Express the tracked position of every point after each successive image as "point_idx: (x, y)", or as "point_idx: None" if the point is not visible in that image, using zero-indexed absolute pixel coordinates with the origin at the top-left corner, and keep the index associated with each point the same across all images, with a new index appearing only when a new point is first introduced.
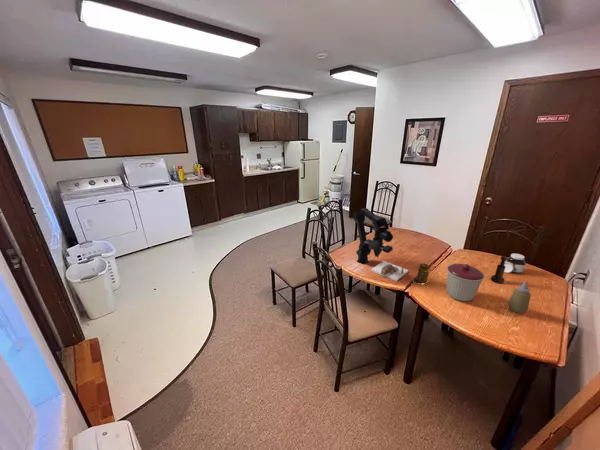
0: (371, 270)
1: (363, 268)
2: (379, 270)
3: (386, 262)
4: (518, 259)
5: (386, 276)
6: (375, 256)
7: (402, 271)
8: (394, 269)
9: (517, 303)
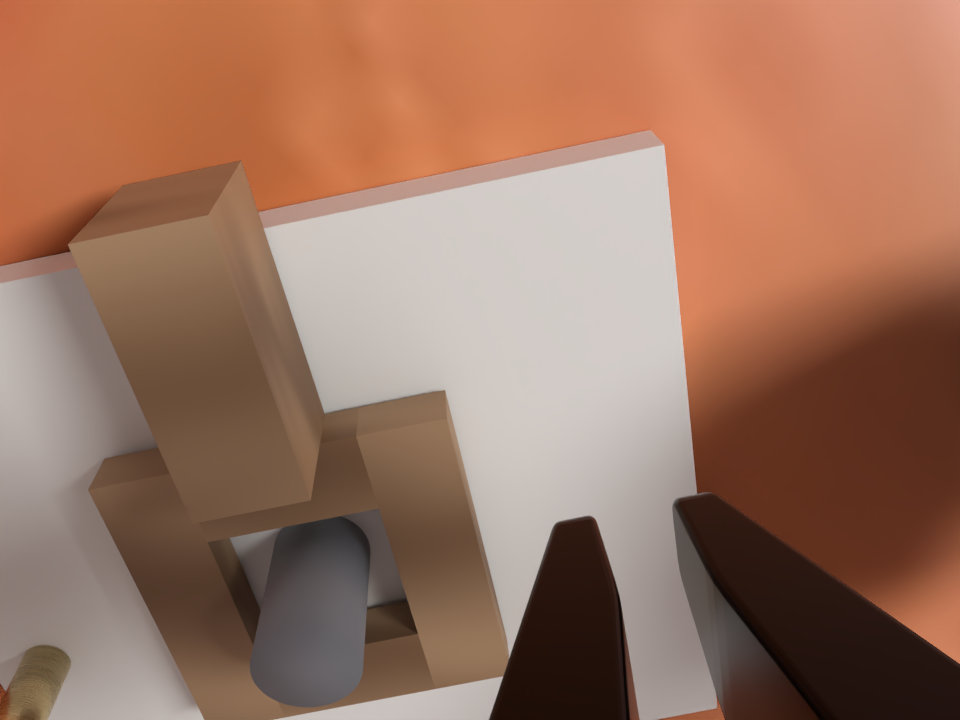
0: (644, 134)
1: (914, 15)
2: (450, 302)
3: None
4: None
5: None
6: (710, 500)
7: (2, 700)
8: (192, 624)
9: None
